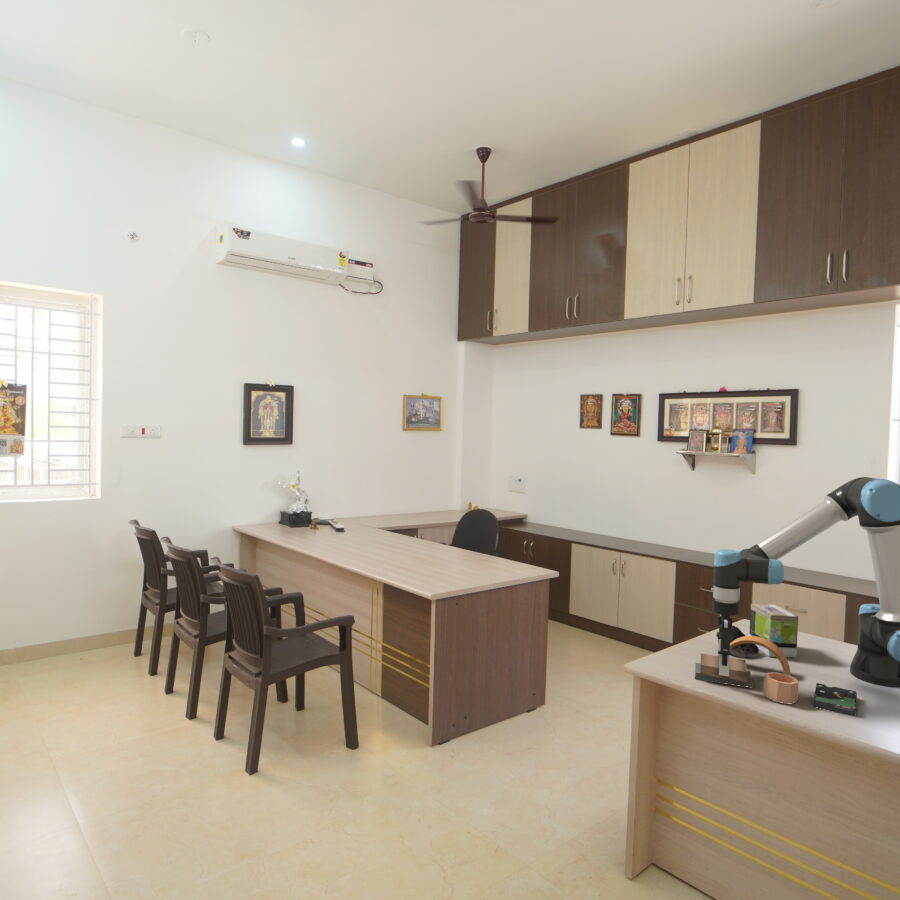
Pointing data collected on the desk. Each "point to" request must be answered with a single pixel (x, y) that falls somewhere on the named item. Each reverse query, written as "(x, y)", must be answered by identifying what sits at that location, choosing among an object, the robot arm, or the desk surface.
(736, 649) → the crystal cluster
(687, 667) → the desk surface
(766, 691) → the plant pot
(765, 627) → the tea box
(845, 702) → the disk drive
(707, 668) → the cover board
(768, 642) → the arch
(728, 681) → the block
